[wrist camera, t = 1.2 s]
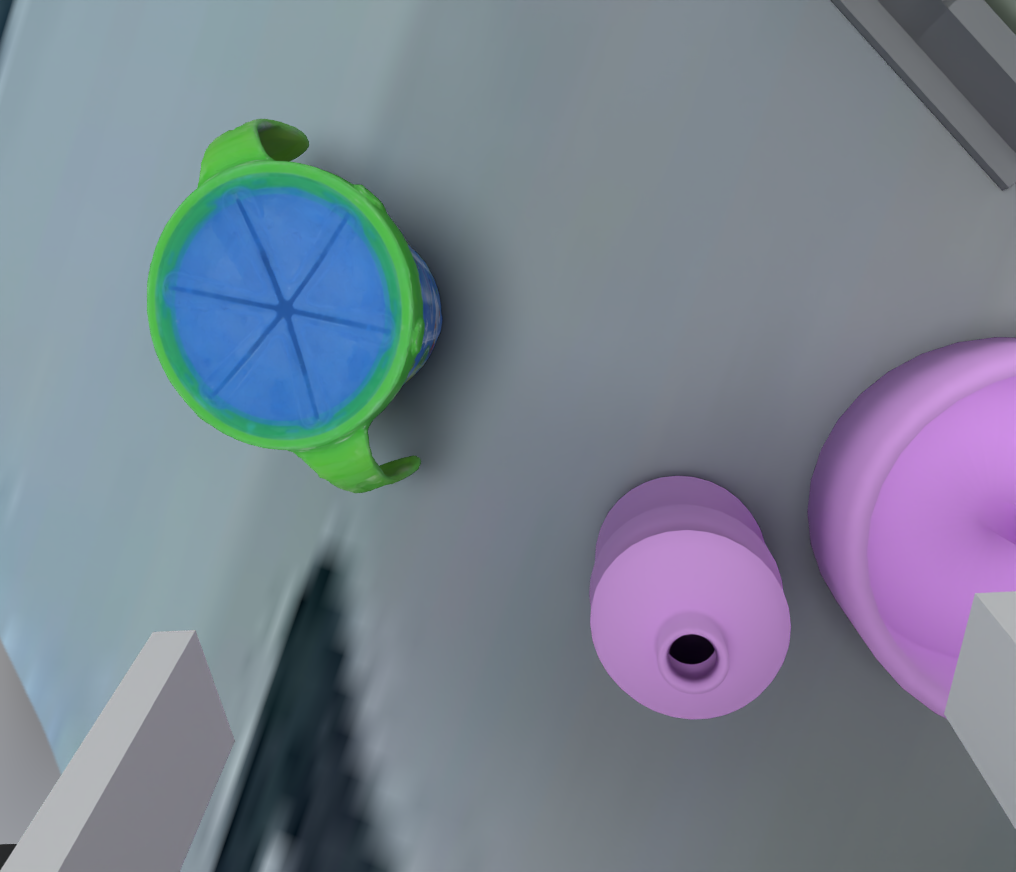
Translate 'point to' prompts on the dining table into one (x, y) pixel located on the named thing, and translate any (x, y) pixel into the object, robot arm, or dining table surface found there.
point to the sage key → (1005, 11)
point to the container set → (824, 545)
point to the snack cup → (290, 305)
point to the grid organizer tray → (952, 69)
